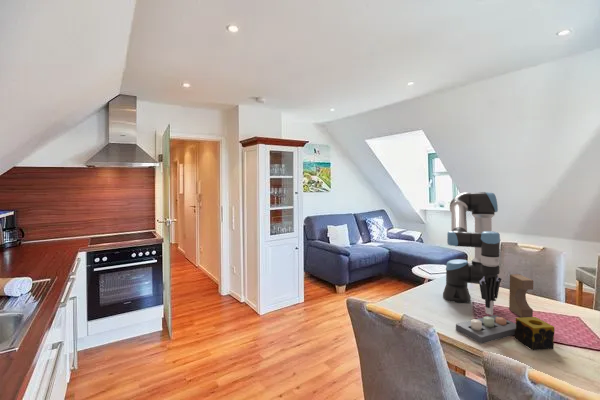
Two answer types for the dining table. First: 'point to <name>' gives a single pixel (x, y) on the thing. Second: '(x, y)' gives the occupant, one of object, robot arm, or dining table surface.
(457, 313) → the dining table surface
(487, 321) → the sage button
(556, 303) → the dining table surface
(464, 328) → the panel
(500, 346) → the dining table surface
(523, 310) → the decorative block
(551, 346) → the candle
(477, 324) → the cream button
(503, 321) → the terracotta button
